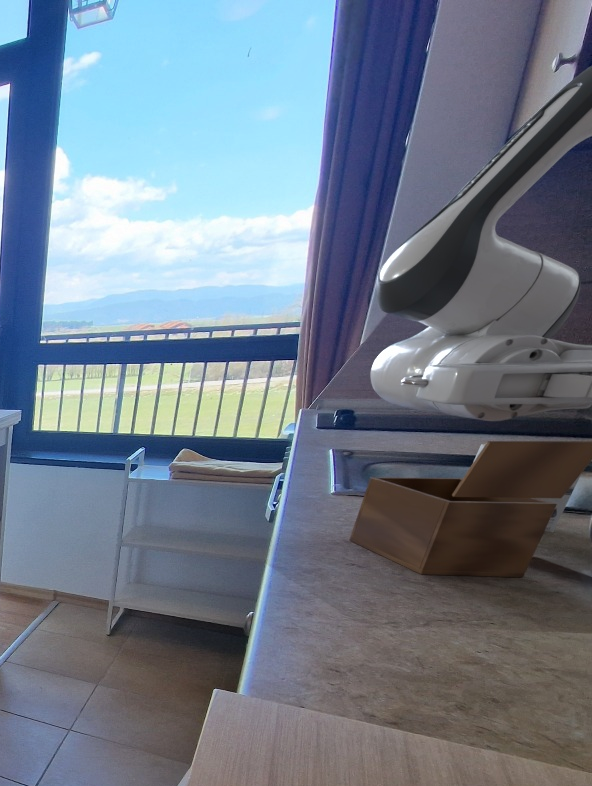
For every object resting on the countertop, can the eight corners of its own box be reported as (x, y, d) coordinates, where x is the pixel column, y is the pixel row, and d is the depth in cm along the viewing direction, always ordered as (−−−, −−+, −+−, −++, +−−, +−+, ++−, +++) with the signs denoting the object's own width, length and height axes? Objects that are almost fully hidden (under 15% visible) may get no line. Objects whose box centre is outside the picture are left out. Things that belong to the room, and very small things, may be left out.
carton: (435, 542, 82) (460, 477, 79) (523, 577, 70) (557, 503, 67) (348, 540, 84) (370, 477, 80) (420, 574, 72) (449, 502, 69)
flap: (602, 441, 63) (605, 442, 62) (558, 496, 67) (561, 498, 66) (487, 441, 64) (490, 442, 64) (451, 495, 68) (453, 497, 68)
